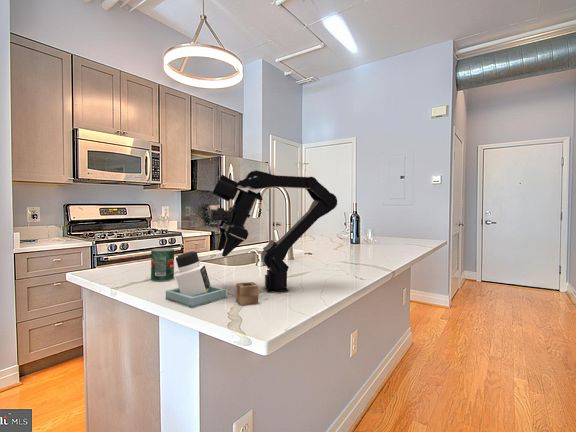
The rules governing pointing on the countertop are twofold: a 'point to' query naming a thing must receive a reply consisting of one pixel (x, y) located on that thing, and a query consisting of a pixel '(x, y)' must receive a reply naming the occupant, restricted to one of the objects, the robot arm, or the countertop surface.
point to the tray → (196, 297)
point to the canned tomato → (162, 264)
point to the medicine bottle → (191, 275)
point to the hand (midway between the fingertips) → (221, 253)
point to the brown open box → (247, 293)
